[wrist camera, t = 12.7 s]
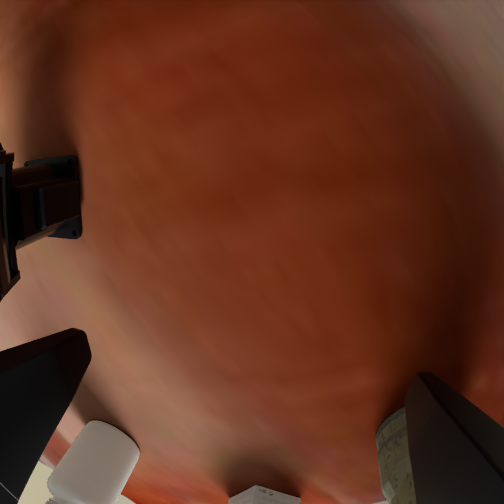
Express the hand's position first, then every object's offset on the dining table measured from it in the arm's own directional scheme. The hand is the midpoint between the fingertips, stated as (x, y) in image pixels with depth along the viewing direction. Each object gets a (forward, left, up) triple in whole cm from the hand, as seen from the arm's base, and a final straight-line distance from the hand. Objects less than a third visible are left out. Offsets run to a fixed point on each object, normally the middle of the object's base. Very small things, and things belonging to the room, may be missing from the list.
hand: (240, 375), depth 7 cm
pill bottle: (-18, -28, -13) cm, 36 cm away
